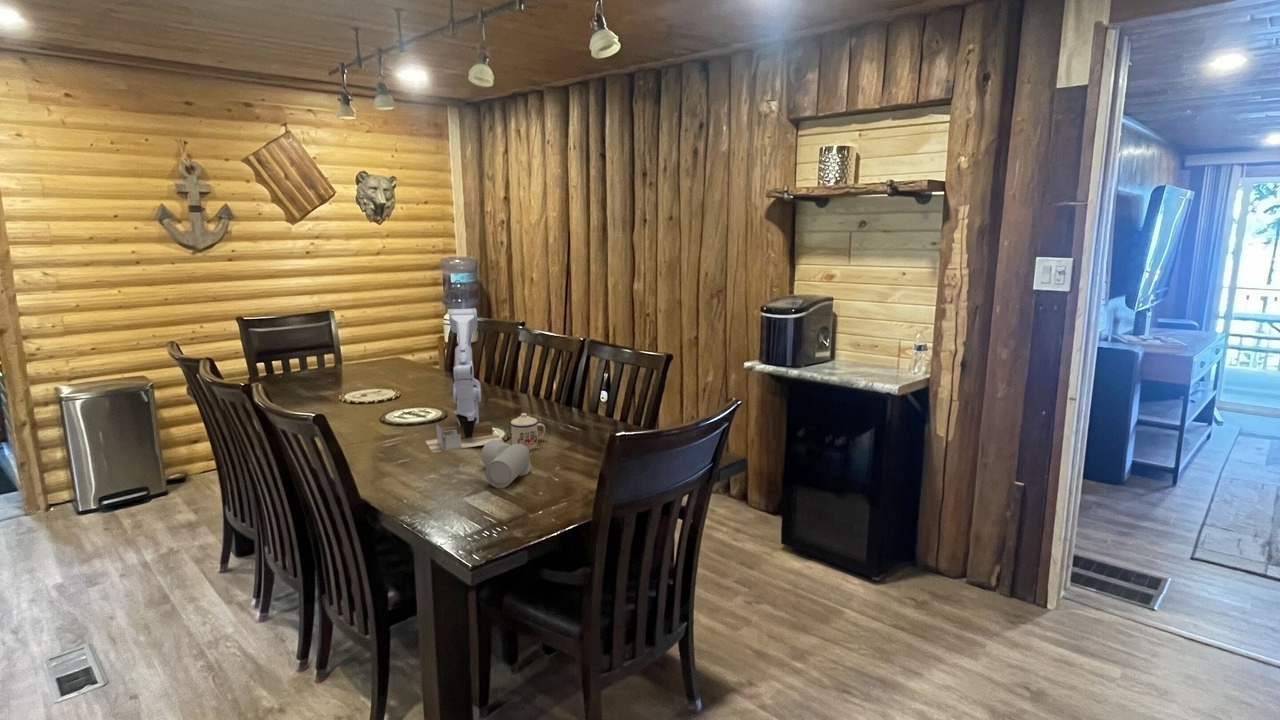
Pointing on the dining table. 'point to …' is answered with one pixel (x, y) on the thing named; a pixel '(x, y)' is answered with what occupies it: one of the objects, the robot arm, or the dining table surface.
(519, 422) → the teacup with lid
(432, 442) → the base board
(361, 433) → the dining table surface
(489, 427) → the rail
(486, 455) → the elbow connector
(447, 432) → the bracket
